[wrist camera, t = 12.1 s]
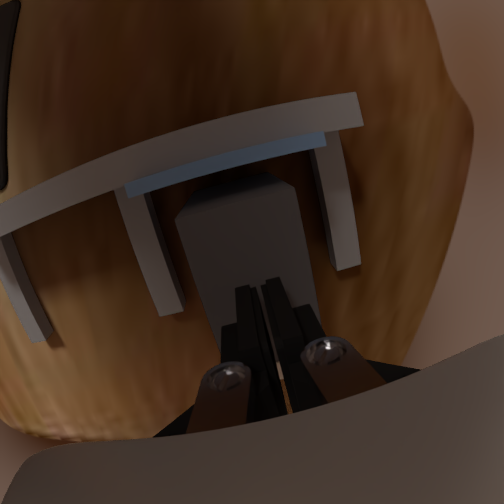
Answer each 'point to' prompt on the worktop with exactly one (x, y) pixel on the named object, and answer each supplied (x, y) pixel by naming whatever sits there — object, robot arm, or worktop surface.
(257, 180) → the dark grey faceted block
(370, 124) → the worktop surface
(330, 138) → the grey slotted rack
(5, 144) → the smartphone
